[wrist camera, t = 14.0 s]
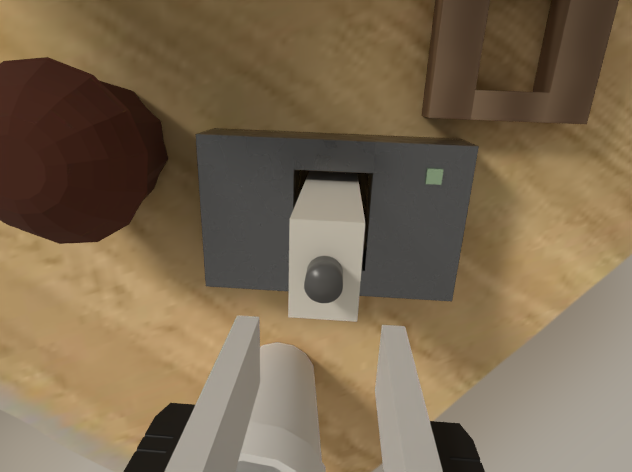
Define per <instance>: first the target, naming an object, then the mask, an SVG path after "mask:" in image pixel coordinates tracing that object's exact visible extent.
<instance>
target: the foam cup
mask: <svg viewBox="0 0 632 472" xmlns="http://www.w3.org/2000/svg"><path fill="white" fill-rule="evenodd" d="M235 472H326V471H325V465H324V464H323V463H322V457H321V445H320V434H319V422H318V410H317V399H316V387H315V376H314V367H313V364H312V362H311V361H310V359H309V358H308V356H307V354H306V353H304V352H303V351H301V350H300V349H298V348H297V347H295V346H294V345H289V344H284V343H279V342H277V343H271V344H266V345H262V346H261V347H260V385H259V389H258V393H257V396H256V400H255V403H254V407H253V410H252V414H251V418H250V421H249V425H248V428H247V432H246V435H245V439H244V442H243V446H242V450H241V453H240V457H239V460H238V464H237V467H236V471H235Z"/></svg>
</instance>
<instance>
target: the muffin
mask: <svg viewBox="0 0 632 472" xmlns="http://www.w3.org/2000/svg"><path fill="white" fill-rule="evenodd" d="M167 160H168V156H167V152H166V149H165V145H164V142H163V135H162V125H161V121H160V120H159V119H158V118H157V117H156V116H155V115H153V114H152V113H151V112H150V111H149V110H148V109H147V108H146V107H145V106H144V104H143V103H142V102H141V100H140V99H139V98H138V97H137V95H136V94H135V93H134V91H131V90H127V89H124V88H121V87H118V86H114V85H111V84H108V83H105V82H102V81H99V80H98V79H97V78H96V77H95V76H94V75H92V74H89V73H87V72H84V71H81V70H79V69H76V68H74V67H71V66H69V65H66V64H63V63H61V62H58V61H56V60H53V59H51V58H48V57H46V58H35V59H23V60H12V61H3V62H2V63H1V64H0V220H1V221H2V222H4V223H6V224H8V225H10V226H13V227H16V228H19V229H21V230H23V231H26V232H29V233H32V234H34V235H37V236H40V237H43V238H45V239H48V240H51V241H54V242H57V243H59V244H62V243H84V242H98V241H100V240H102V239H104V238H106V237H107V236H109V235H111V234H113V233H114V232H116V231H118V230H120V229H121V228H123V227H125V226H127V225H128V224H129V223H130V221H131V220H132V218H133V216H134V214H135V213H136V211H137V209H138V208H139V206H140V204H141V202H142V201H143V200H144V199H145V198H146V197H147V195H148V194H149V193H150V192H151V191H152V190H153V189H154V187H155V184H156V182H157V179H158V176H159V173H160V172H161V170H162V168H163V167H164V165H165V164H166V162H167Z"/></svg>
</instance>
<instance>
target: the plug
mask: <svg viewBox="0 0 632 472" xmlns="http://www.w3.org/2000/svg"><path fill="white" fill-rule="evenodd" d="M364 232H365V218H364V212H363V206H362V200H361V194H360V187H359V181H358V175H357V173H346V172H325V171H309V173H308V175H307V178H306V180H305V183H304V185H303V188H302V190H301V192H300V195H299V197H298V200H297V202H296V205H295V207H294V209H293V212H292V214H291V217H290V224H289V300H288V317H294V318H309V319H325V320H340V321H355V322H357V318H358V306H359V293H360V281H361V269H362V257H363V244H364Z"/></svg>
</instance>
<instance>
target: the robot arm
mask: <svg viewBox="0 0 632 472" xmlns="http://www.w3.org/2000/svg"><path fill="white" fill-rule="evenodd" d="M259 385H260V329H259V317H253V316H238V315H237V317H236V319H235V321H234V323H233V325H232V328H231V330H230V332H229V334H228V336H227V338H226V340H225V343H224V345H223V347H222V349H221V351H220V353H219V356H218V358H217V360H216V362H215V364H214V366H213V368H212V371H211V373H210V375H209V377H208V379H207V381H206V383H205V386H204V388H203V390H202V392H201V394H200V396H199V399H198V401H197V403H196V405H192V404H178V403H170V404H169V405H168V406H167V407H165V408H164V409H163V410H162V411H161V412H160V413H159V414H158V415H156V416H155V418H154V419H153V421H152V423H151V425H150V426H149V428H148V430H147V432H146V433H145V437H143V439H142V440H141V442H140V444H139V446H138V447H137V451H136V452H135V453H134V454H133V456H132V458H131V460H130V461H129V463H128V465H127V467H126V468H125V470H124V472H235V471H236V467H237V464H238V460H239V457H240V453H241V450H242V446H243V442H244V439H245V435H246V432H247V428H248V425H249V421H250V418H251V414H252V410H253V407H254V403H255V400H256V396H257V393H258V389H259ZM375 395H376V405H377V414H378V424H379V433H380V442H381V452H382V461H383V471H384V472H485V471H484V468H483V465H482V463H480V457H479V455H478V452H477V449H476V447H475V444H474V441H473V439H472V438H471V437H470V436H469V435H468V433H467V432H466V431H465V430H464V429H463V427H462V426H461V425H460V424H459V423H447V422H434V421H430V420H429V417H428V413H427V409H426V405H425V401H424V397H423V394H422V390H421V386H420V382H419V378H418V374H417V371H416V367H415V363H414V359H413V355H412V351H411V348H410V344H409V340H408V336H407V332H406V328H405V326H393V325H382V330H381V339H380V349H379V358H378V367H377V377H376V386H375Z"/></svg>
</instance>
